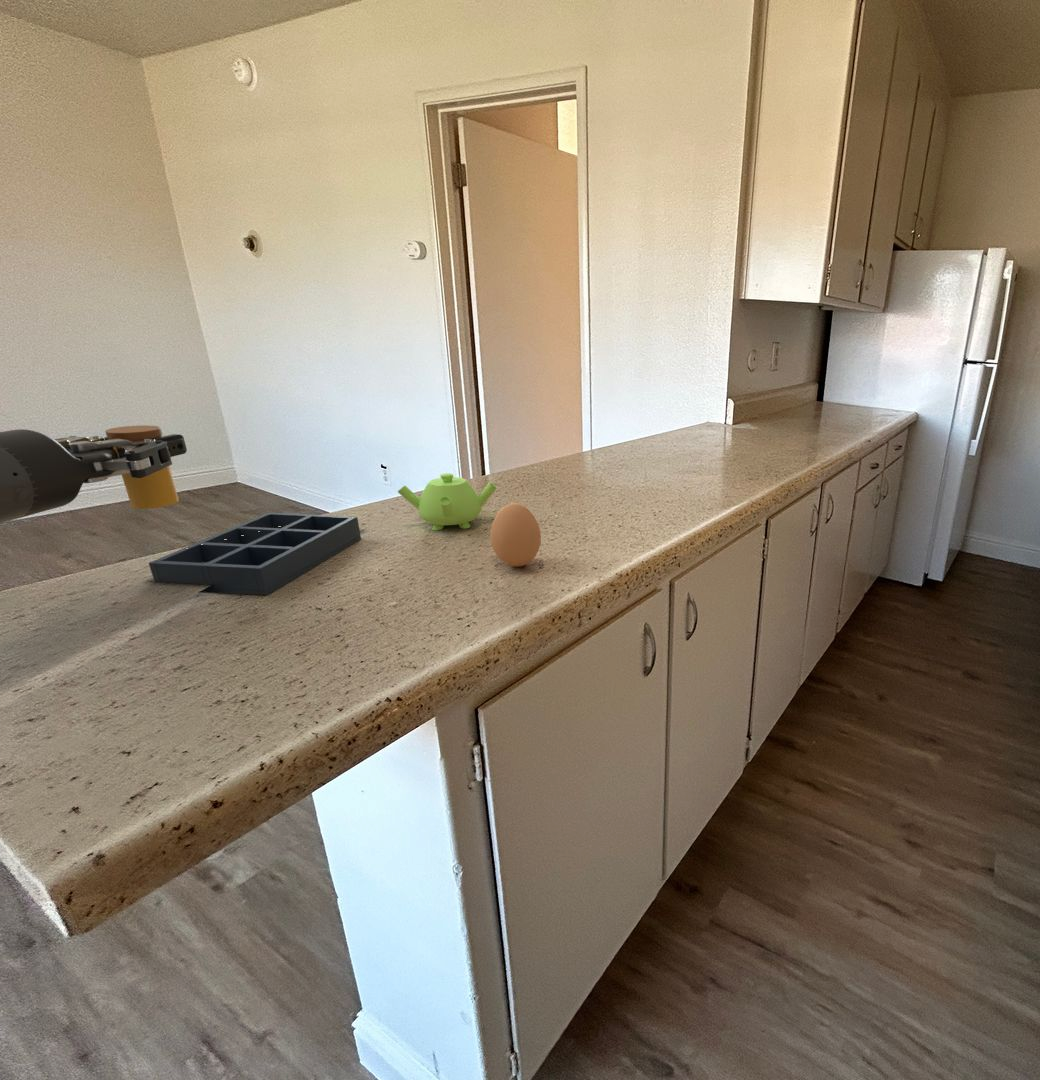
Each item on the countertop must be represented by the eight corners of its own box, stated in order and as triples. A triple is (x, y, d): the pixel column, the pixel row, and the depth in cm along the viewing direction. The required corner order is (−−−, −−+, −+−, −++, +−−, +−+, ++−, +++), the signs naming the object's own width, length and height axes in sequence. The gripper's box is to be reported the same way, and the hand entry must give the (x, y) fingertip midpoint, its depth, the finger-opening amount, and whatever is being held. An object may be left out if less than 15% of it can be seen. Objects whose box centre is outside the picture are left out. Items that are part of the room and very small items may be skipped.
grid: (156, 590, 72) (148, 562, 71) (273, 534, 90) (268, 512, 89) (266, 595, 72) (260, 568, 71) (361, 539, 90) (357, 516, 89)
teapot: (457, 508, 106) (451, 462, 103) (504, 520, 101) (500, 472, 98) (400, 526, 96) (392, 475, 93) (449, 540, 92) (442, 487, 89)
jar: (117, 508, 65) (92, 431, 62) (154, 497, 69) (132, 424, 66) (157, 510, 65) (134, 433, 62) (191, 498, 69) (171, 426, 66)
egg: (490, 575, 80) (483, 511, 77) (496, 557, 86) (491, 497, 83) (540, 573, 82) (536, 510, 78) (544, 555, 88) (540, 496, 84)
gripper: (51, 442, 50) (215, 412, 66) (-116, 433, 50) (89, 405, 66) (80, 525, 53) (231, 477, 69) (-79, 516, 53) (110, 470, 69)
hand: (161, 442), depth 68 cm, fingers closed on jar, 4 cm apart
